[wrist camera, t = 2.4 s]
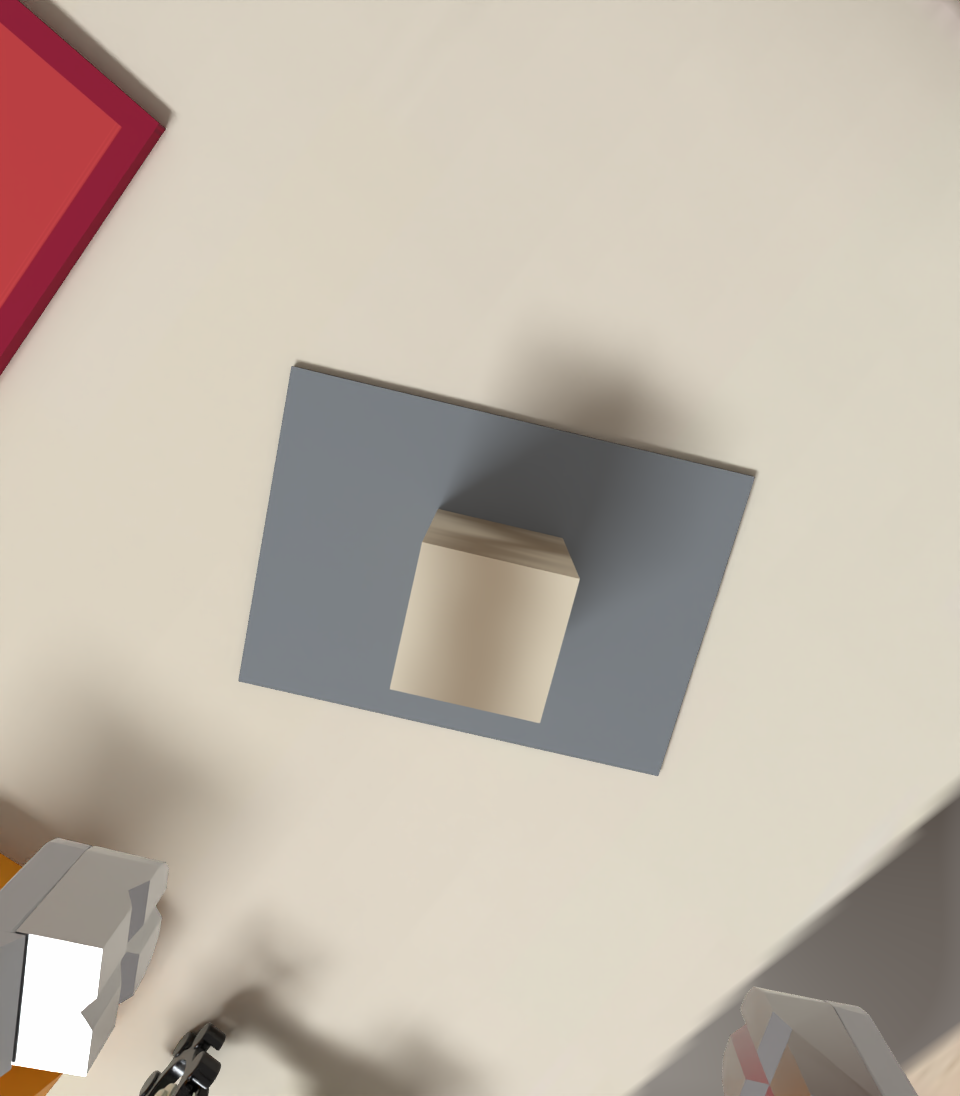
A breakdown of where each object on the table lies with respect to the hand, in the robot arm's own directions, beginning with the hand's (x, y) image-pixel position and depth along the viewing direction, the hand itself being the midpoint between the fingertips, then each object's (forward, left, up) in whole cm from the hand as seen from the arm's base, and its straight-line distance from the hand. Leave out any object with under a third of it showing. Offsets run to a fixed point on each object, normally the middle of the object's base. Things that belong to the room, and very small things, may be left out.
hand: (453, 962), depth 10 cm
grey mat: (0, 0, -19) cm, 19 cm away
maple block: (0, 0, -19) cm, 19 cm away
